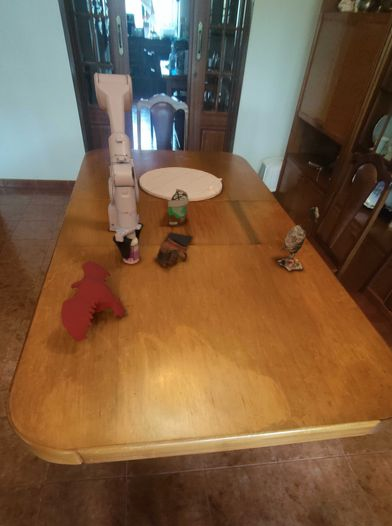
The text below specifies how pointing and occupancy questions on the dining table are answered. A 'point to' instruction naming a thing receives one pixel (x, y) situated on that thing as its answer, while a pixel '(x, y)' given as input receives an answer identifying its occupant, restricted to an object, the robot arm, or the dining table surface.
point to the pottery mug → (173, 255)
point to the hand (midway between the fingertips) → (130, 251)
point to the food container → (178, 208)
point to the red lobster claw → (89, 301)
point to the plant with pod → (296, 243)
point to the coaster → (179, 238)
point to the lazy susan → (180, 183)
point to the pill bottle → (133, 249)
